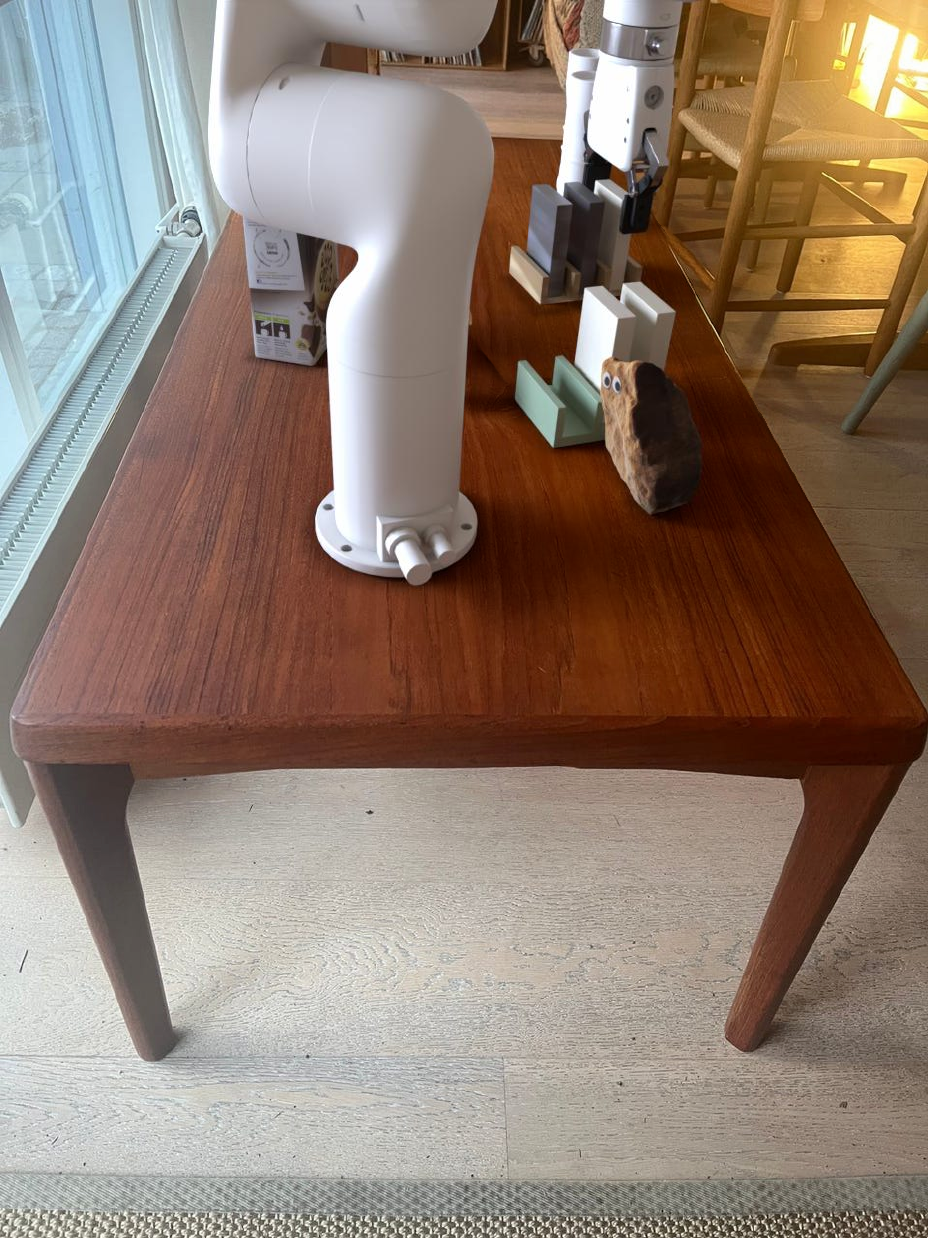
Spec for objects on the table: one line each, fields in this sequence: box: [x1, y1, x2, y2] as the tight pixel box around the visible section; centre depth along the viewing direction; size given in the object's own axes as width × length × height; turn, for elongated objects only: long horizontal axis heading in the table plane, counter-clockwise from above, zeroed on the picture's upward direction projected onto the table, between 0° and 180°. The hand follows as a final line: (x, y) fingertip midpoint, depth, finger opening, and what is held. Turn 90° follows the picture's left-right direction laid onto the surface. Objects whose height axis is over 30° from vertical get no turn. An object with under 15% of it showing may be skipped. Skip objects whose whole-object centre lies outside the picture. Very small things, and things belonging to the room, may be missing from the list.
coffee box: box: [242, 217, 340, 367], centre depth 94 cm, size 9×6×16 cm
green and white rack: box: [514, 281, 677, 449], centre depth 88 cm, size 12×9×11 cm
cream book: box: [594, 178, 632, 291], centre depth 109 cm, size 2×6×10 cm, turn 20°
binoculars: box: [556, 47, 600, 196], centre depth 125 cm, size 17×5×18 cm, turn 176°
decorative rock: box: [600, 357, 703, 515], centre depth 80 cm, size 12×6×11 cm, turn 17°
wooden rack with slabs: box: [508, 182, 643, 305], centre depth 109 cm, size 12×9×11 cm
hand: (612, 215), depth 108 cm, fingers open, 9 cm apart
